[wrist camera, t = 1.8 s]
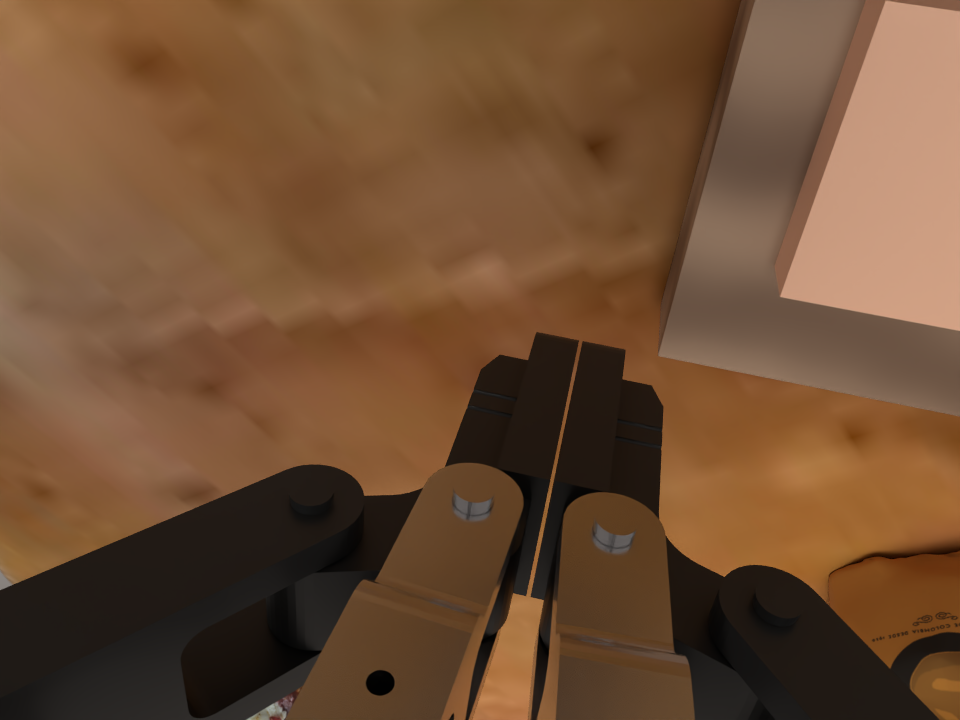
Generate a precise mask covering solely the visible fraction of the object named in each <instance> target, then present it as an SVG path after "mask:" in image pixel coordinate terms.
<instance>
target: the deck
mask: <svg viewBox="0 0 960 720" xmlns="http://www.w3.org/2000/svg"><path fill="white" fill-rule="evenodd" d="M865 1H866V0H741V3H740V7H739V11H738V15H737V18H736V22H735V26H734V30H733V34H732V37H731V41H730V45H729V49H728V52H727V56H726V60H725V64H724V68H723V71H722V75H721V79H720V83H719V87H718V90H717V94H716V98H715V102H714V106H713V109H712V113H711V117H710V121H709V124H708V128H707V132H706V136H705V140H704V143H703V147H702V151H701V155H700V159H699V162H698V166H697V170H696V174H695V177H694V181H693V185H692V189H691V193H690V196H689V200H688V204H687V208H686V212H685V215H684V219H683V223H682V227H681V231H680V234H679V238H678V242H677V246H676V249H675V253H674V257H673V261H672V265H671V268H670V272H669V276H668V280H667V284H666V287H665V291H664V295H663V299H662V303H661V313H660V330H659V347H658V356H661V357H666V358H671V359H676V360H681V361H686V362H691V363H696V364H701V365H706V366H711V367H716V368H721V369H726V370H731V371H736V372H741V373H746V374H751V375H756V376H761V377H766V378H771V379H776V380H781V381H786V382H791V383H796V384H801V385H806V386H811V387H816V388H821V389H826V390H831V391H836V392H841V393H846V394H851V395H856V396H861V397H866V398H871V399H876V400H881V401H886V402H891V403H896V404H901V405H906V406H911V407H916V408H921V409H926V410H931V411H936V412H941V413H946V414H951V415H956V416H960V331H957V330H952V329H947V328H941V327H936V326H931V325H926V324H920V323H915V322H910V321H904V320H899V319H894V318H889V317H883V316H878V315H873V314H867V313H862V312H857V311H852V310H846V309H841V308H836V307H830V306H825V305H820V304H815V303H809V302H804V301H799V300H793V299H788V298H783V297H780V295H779V289H778V284H777V278H776V273H775V267H774V266H775V263H776V260H777V257H778V254H779V251H780V248H781V245H782V242H783V239H784V237H785V234H786V231H787V228H788V225H789V222H790V219H791V216H792V213H793V210H794V207H795V205H796V202H797V199H798V196H799V193H800V190H801V187H802V184H803V181H804V178H805V175H806V173H807V170H808V167H809V164H810V161H811V158H812V155H813V152H814V149H815V146H816V143H817V141H818V138H819V135H820V132H821V129H822V126H823V123H824V120H825V117H826V114H827V112H828V109H829V106H830V103H831V100H832V97H833V94H834V91H835V88H836V85H837V82H838V80H839V77H840V74H841V71H842V68H843V65H844V62H845V59H846V56H847V53H848V50H849V48H850V45H851V42H852V39H853V36H854V33H855V30H856V27H857V24H858V21H859V18H860V16H861V13H862V10H863V7H864V4H865Z"/></svg>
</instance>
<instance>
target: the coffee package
mask: <svg viewBox="0 0 960 720" xmlns="http://www.w3.org/2000/svg"><path fill="white" fill-rule="evenodd" d="M829 601H830V603H829V606H830V607H831V608H832V609H833V610H834V611H835V612H836V614H837V615H838V616H839V617H840V618H841V619H842V620H843V621H844V622H845V623H846V624H847V625H848V626H849V627H850V628H851V629H852V630H853V631H854V632H855V633H856V634H857V635H858V636H859V637H860V638H861V639H862V640H863V641H864V642H865V643H866V644H867V645H868V646H869V647H870V648H871V650H872V651H873V652H874V653H875V654H876V655H877V656H878V657H879V658H880V659H881V660H882V661H883V662H884V663H885V664H886V665H887V666H888V667H889V668H890V669H891V670H892V671H893V672H894V673H895V674H896V675H897V676H898V677H899V678H900V679H901V680H902V681H903V682H904V683H905V684H906V686H907V687H908V688H909V689H910V690H911V691H912V692H913V693H914V694H915V695H916V696H917V697H918V698H919V699H920V700H921V701H922V702H923V703H924V704H925V705H926V706H927V707H928V708H929V709H930V710H931V711H932V712H933V713H934V714H935V715H936V716H937V717H938V718H939V719H940V720H960V551H958V552H953V553H949V554H944V555H943V554H941V555H932V554H919V555H917V556H912V557H908V558H897V559H888V558H884V557H871V558H868V559H864V560H863V561H862V562H861V563H857V564H852V565H848V566H846V567H844V568H841V569H838V570H836V571H834V572H833V573H832V574H830V578H829Z"/></svg>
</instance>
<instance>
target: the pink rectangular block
mask: <svg viewBox="0 0 960 720" xmlns="http://www.w3.org/2000/svg"><path fill="white" fill-rule="evenodd" d="M774 267H775V273H776V278H777V284H778V289H779V295H780V297H783V298H788V299H793V300H799V301H804V302H809V303H815V304H820V305H825V306H830V307H836V308H841V309H846V310H852V311H857V312H862V313H867V314H873V315H878V316H883V317H889V318H894V319H899V320H904V321H910V322H915V323H920V324H926V325H931V326H936V327H941V328H947V329H952V330H957V331H960V0H866V1H865V4H864V7H863V10H862V13H861V16H860V18H859V21H858V24H857V27H856V30H855V33H854V36H853V39H852V42H851V45H850V48H849V50H848V53H847V56H846V59H845V62H844V65H843V68H842V71H841V74H840V77H839V80H838V82H837V85H836V88H835V91H834V94H833V97H832V100H831V103H830V106H829V109H828V112H827V114H826V117H825V120H824V123H823V126H822V129H821V132H820V135H819V138H818V141H817V143H816V146H815V149H814V152H813V155H812V158H811V161H810V164H809V167H808V170H807V173H806V175H805V178H804V181H803V184H802V187H801V190H800V193H799V196H798V199H797V202H796V205H795V207H794V210H793V213H792V216H791V219H790V222H789V225H788V228H787V231H786V234H785V237H784V239H783V242H782V245H781V248H780V251H779V254H778V257H777V260H776V263H775V266H774Z"/></svg>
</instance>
